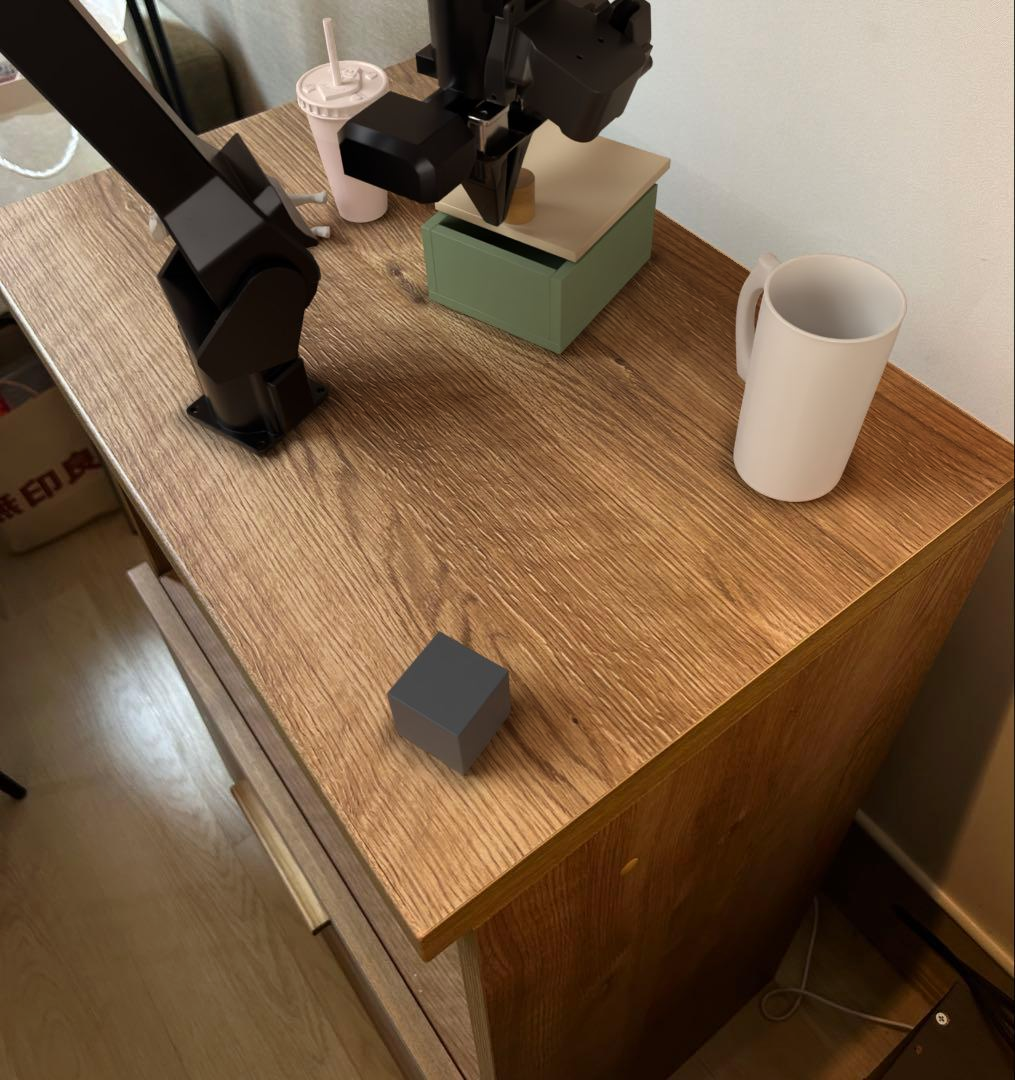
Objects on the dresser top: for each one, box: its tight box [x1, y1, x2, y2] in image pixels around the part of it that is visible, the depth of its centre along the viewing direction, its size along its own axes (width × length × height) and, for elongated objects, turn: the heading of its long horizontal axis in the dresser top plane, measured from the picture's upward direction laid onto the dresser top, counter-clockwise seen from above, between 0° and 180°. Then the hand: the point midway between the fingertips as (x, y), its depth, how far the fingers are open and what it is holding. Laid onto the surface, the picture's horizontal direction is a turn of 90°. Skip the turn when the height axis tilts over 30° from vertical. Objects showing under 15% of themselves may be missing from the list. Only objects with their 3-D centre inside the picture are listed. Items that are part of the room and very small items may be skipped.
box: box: [420, 182, 659, 355], centre depth 66 cm, size 11×12×6 cm
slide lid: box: [434, 119, 672, 262], centre depth 63 cm, size 11×12×3 cm
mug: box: [732, 252, 908, 503], centre depth 53 cm, size 10×7×12 cm, turn 25°
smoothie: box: [295, 17, 392, 224], centre depth 68 cm, size 6×6×14 cm
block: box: [386, 630, 512, 776], centre depth 46 cm, size 4×4×4 cm
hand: (495, 222), depth 59 cm, fingers closed
